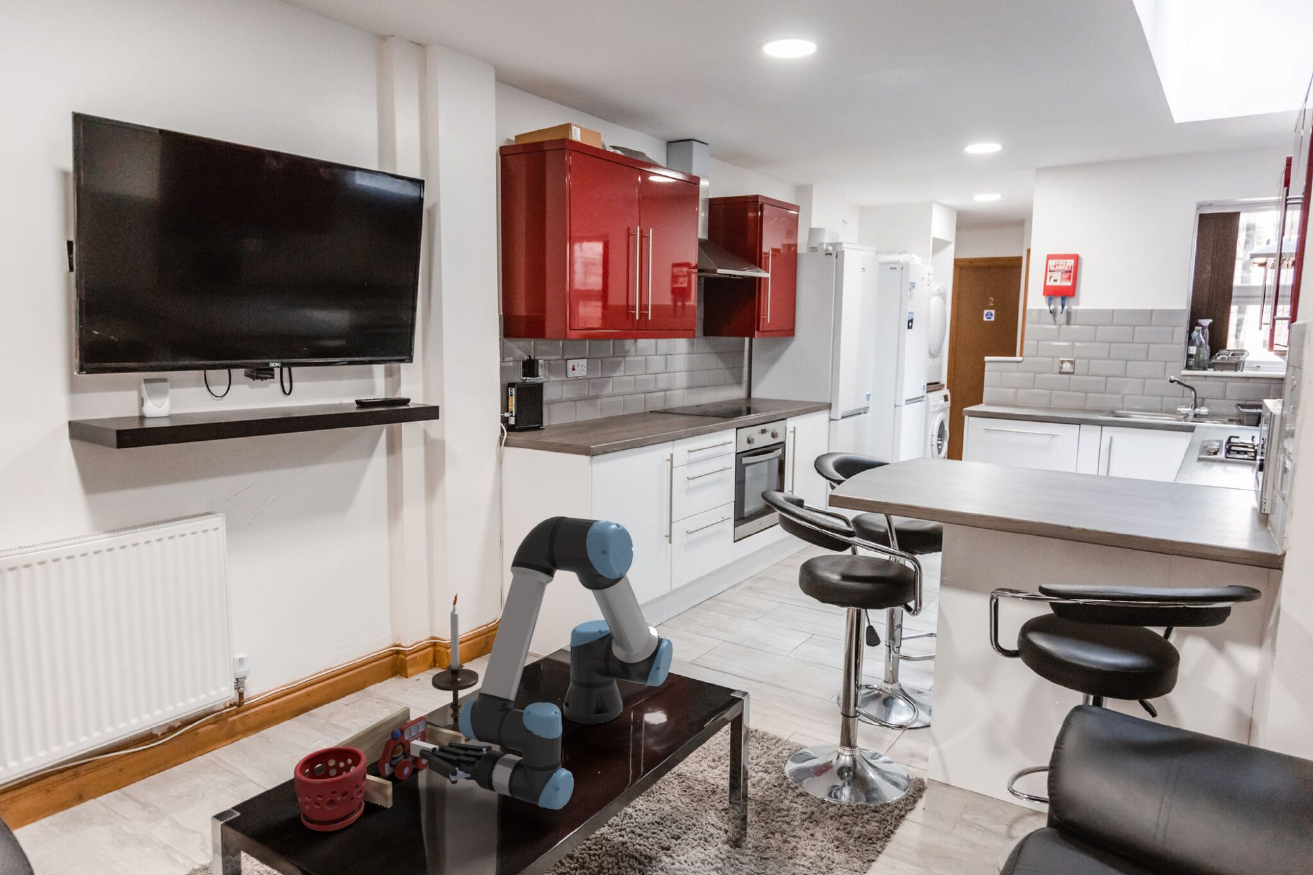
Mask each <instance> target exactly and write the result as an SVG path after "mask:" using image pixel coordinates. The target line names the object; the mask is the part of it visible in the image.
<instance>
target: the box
mask: <svg viewBox="0 0 1313 875" xmlns="http://www.w3.org/2000/svg"><path fill="white" fill-rule="evenodd" d="M413 720H414V719H411V708H410V707H409V706H404V707H403V708H401V709H400V710H397V711H395V712H394V713H391V715H388V716H387V717H385V718H383V719H381V720H379V721H377V722H376V723H374V724H372V725H370V726H368V727H367V728H364V729H363V730H361V731H359V732H358V733H356V734H354V735H352V736H350V737H348V738H347V739H345V740H343V741H341V742H339V743H337V744H336V745H334V746H333V747H341V746H343V747H353V748H356V749H359V750H360V751H362V752H363V753H364V755H365V757H366V768H367V767H369V766H371V765H372V764H374V763H375V762H378V761H379V759H380V757H381V756H382V753H383V750H384V747H385V744H386V742H387V740H389V739H391V732H392V731H393V730H395V729H397V730H399V728H400V727H402V726H403V725H405V724H407V723H409V722H411V721H413ZM425 733H426V743H428V744H434V745H437V746H442V745H445V746H448V743H450V742H453V743H461V744H466V742H465V736H464V735H463V734H462V733H458V732H455V731H451V730H447V729H443V728H442V727H439V726H435V725H431V724H428V723H427V728H426V731H425ZM348 762H349V763H351V762H352V761H351V759H348ZM371 763H372V764H371ZM328 764H329V765H334V764H335V760H329V761H328ZM368 765H369V766H368ZM340 766H344V763H343V762H341V763H340ZM355 768H356V767H354V766H353V767H352V768H351V771H352V770H353V769H355ZM335 774H336V770H335V769H331V770H330V775H335ZM344 774H347V773H346V772H343V775H344ZM366 775H367V776H366V786H365V791H364V794H363V797H362V799H363V801H364V800H365V801H364V802H367V801H370V802H372V803H371V804H373V803H375V804H374V805H376V804H378V805H377V806H380V805H382V806H381V807H383V806H384V807H383V808H386V807H387V808H386V809H389V808H391V807H392V806H393V782H392V781H389V780H387V779H383V778H381V777H377V776H373V775H370V774H368V773H366ZM370 802H369V803H370Z"/></svg>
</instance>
